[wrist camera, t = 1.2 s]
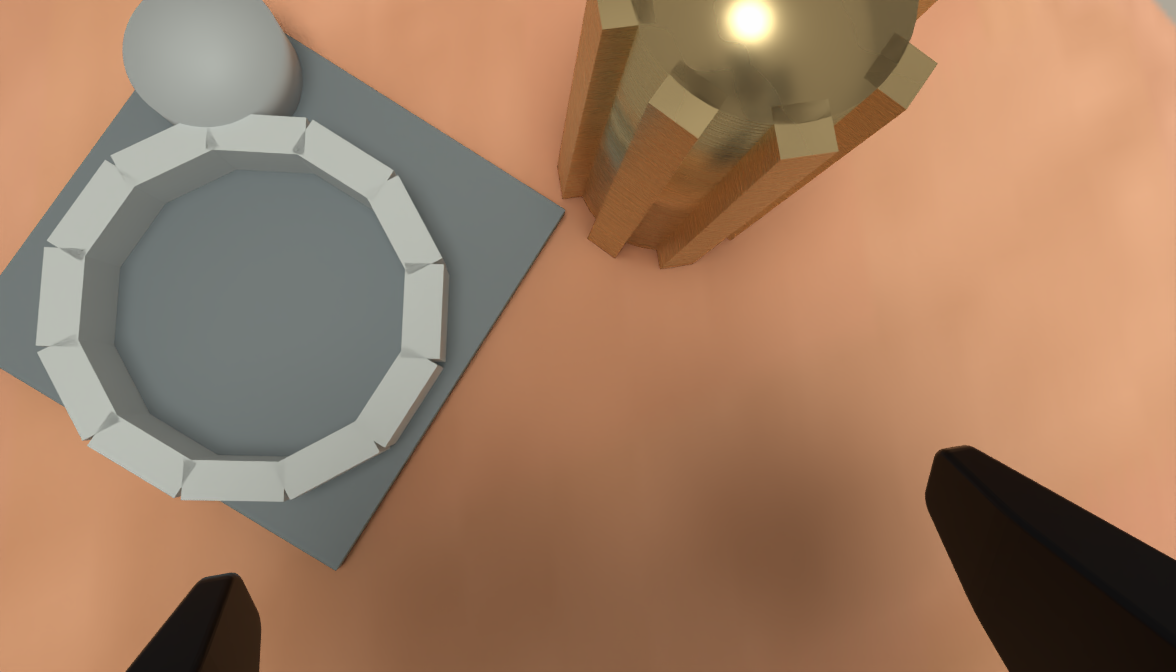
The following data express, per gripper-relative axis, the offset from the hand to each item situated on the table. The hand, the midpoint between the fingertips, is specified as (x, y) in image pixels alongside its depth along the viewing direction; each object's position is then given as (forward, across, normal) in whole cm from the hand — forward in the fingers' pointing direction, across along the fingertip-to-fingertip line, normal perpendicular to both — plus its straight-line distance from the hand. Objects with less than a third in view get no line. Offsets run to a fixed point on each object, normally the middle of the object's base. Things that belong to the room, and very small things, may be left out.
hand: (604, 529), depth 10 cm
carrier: (+14, +7, +3) cm, 16 cm away
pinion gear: (+15, -4, +2) cm, 16 cm away
